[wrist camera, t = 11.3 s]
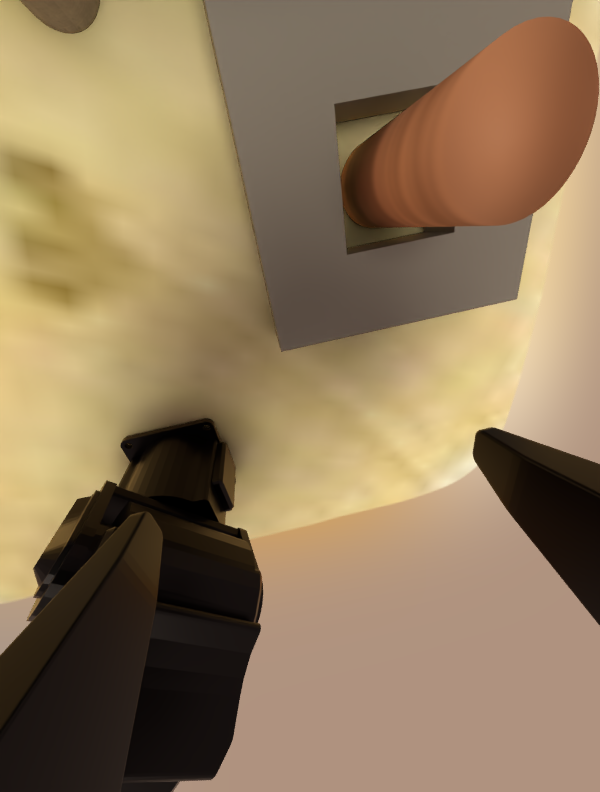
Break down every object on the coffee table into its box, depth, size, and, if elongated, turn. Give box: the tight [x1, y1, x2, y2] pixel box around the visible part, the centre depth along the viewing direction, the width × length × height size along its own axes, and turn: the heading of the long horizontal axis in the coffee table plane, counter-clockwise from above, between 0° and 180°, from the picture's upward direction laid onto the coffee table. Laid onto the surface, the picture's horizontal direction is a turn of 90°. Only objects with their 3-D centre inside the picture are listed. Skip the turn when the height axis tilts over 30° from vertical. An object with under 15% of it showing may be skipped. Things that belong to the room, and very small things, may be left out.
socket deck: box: [203, 0, 573, 352], centre depth 13 cm, size 14×22×3 cm, turn 10°
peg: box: [341, 17, 599, 228], centre depth 12 cm, size 4×4×10 cm
